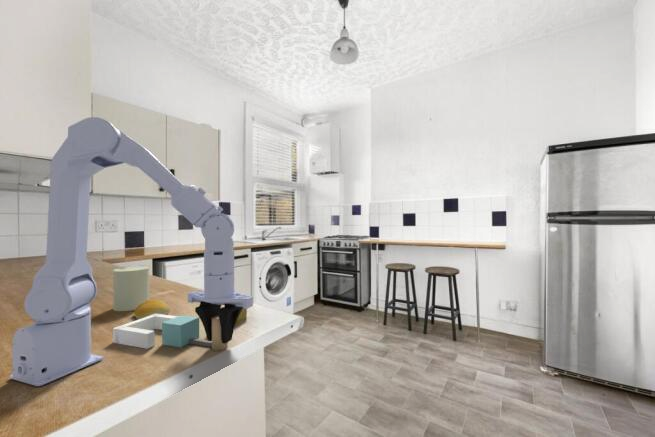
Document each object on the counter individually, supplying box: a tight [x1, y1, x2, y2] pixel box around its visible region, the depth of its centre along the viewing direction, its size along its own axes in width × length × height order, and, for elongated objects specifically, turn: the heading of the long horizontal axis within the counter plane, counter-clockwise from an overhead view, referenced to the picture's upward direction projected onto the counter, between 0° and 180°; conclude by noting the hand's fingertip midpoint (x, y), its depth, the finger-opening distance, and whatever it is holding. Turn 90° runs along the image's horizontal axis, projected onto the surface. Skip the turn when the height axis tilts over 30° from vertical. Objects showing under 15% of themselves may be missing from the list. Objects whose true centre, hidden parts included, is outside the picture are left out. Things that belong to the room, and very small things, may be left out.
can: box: [112, 265, 150, 312], centre depth 87 cm, size 9×9×12 cm
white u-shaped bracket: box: [112, 314, 179, 350], centre depth 64 cm, size 10×10×3 cm
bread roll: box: [133, 299, 171, 320], centre depth 79 cm, size 8×9×4 cm
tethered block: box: [161, 314, 229, 351], centre depth 60 cm, size 5×14×6 cm, turn 71°
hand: (219, 340), depth 58 cm, fingers closed on tethered block, 3 cm apart
